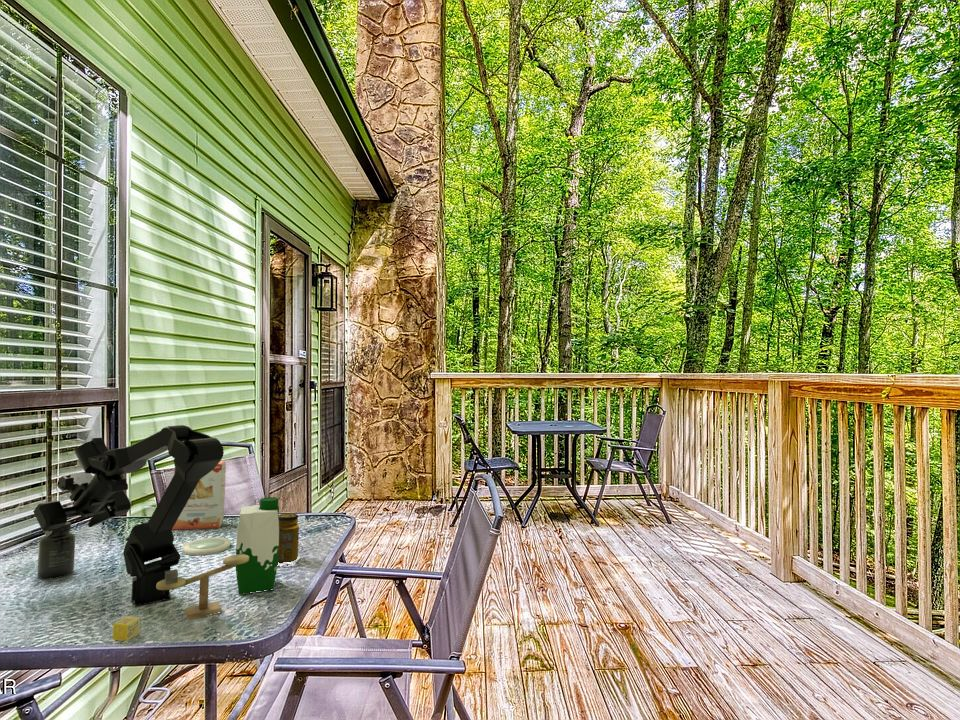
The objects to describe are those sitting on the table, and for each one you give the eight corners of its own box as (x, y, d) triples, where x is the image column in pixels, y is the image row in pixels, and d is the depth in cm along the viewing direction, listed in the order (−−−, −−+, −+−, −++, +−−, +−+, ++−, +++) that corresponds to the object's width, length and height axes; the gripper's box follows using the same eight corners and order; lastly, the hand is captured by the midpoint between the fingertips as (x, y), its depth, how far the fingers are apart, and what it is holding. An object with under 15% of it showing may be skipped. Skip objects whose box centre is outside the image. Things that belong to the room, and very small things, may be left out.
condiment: (303, 556, 141) (304, 512, 141) (292, 567, 132) (294, 520, 133) (275, 556, 140) (277, 511, 141) (263, 567, 132) (265, 520, 132)
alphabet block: (140, 633, 97) (141, 616, 97) (126, 641, 94) (127, 624, 94) (126, 632, 97) (127, 615, 97) (112, 640, 94) (112, 623, 94)
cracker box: (170, 530, 162) (173, 463, 163) (177, 525, 168) (179, 461, 169) (219, 528, 166) (221, 462, 167) (224, 523, 172) (226, 460, 172)
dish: (226, 539, 154) (226, 534, 155) (234, 550, 145) (234, 545, 145) (180, 546, 147) (180, 541, 148) (185, 558, 138) (185, 552, 138)
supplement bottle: (39, 572, 126) (41, 522, 127) (74, 567, 130) (77, 518, 131) (35, 581, 120) (38, 529, 121) (72, 575, 124) (75, 525, 125)
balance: (244, 599, 113) (246, 552, 113) (249, 607, 108) (251, 559, 109) (153, 618, 103) (155, 567, 103) (155, 628, 99) (157, 575, 99)
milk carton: (277, 591, 117) (280, 502, 118) (233, 597, 113) (236, 505, 114) (277, 578, 125) (280, 494, 126) (235, 582, 121) (239, 497, 122)
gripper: (126, 457, 131) (96, 496, 135) (41, 467, 114) (9, 512, 118) (145, 491, 128) (114, 530, 132) (61, 507, 111) (27, 552, 115)
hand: (68, 530), depth 124 cm, fingers open, 9 cm apart
